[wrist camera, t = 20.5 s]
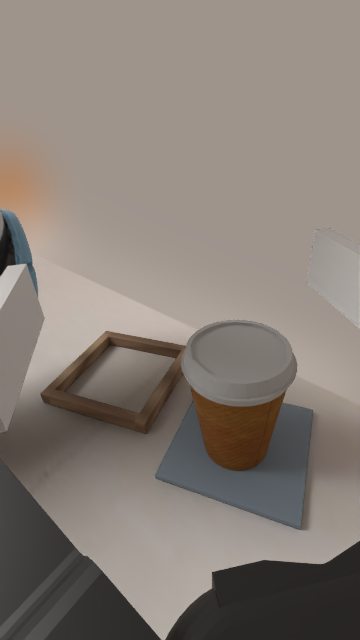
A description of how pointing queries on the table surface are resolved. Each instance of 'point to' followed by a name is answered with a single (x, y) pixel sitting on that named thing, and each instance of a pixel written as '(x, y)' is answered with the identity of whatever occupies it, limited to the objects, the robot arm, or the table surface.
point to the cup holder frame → (108, 412)
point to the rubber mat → (253, 484)
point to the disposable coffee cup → (238, 388)
